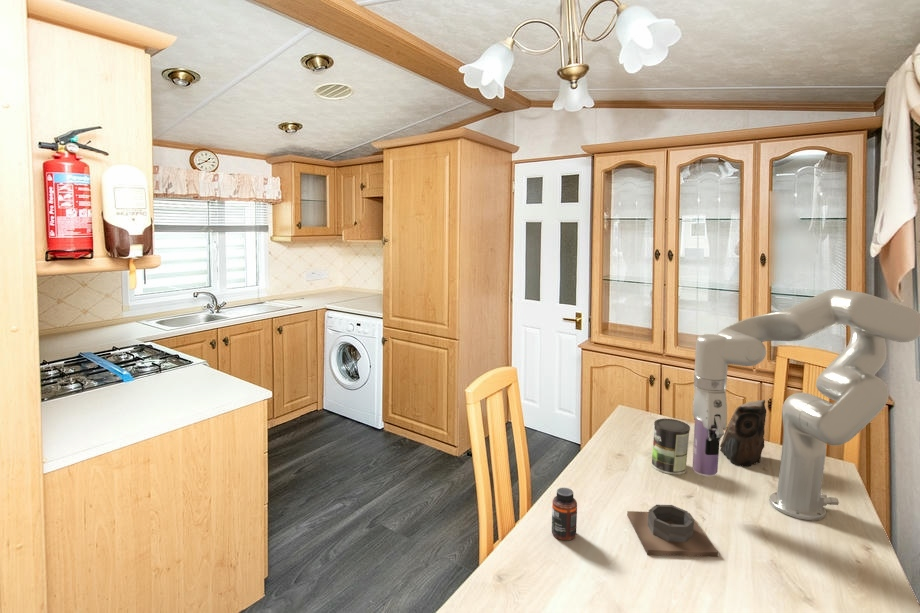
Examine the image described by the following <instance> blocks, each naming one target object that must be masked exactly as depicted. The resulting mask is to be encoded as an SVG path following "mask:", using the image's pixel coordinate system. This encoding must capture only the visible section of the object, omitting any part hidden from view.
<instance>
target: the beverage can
mask: <svg viewBox="0 0 920 613" xmlns="http://www.w3.org/2000/svg"><path fill="white" fill-rule="evenodd" d="M694 419H695V418H694ZM693 427H694V431H693V432H694V434H693V449H692V452H693V453H692V469H693V471H694V472H695V473H696V474H697V475H700V476H703V477H714V476H715V475H717V473H718V469H719V455H720V454H718V455H706V454H705V446H706V439H708V438H707V429H706V428H705V427H704V426H703V423H702V420H700V419H699V418H698V417H697V415H696V419H695V420H694V426H693ZM711 428H715V426H711ZM715 432H716V431H711V435H712V434H713V433H715Z"/></svg>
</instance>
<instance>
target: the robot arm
mask: <svg viewBox="0 0 920 613" xmlns="http://www.w3.org/2000/svg"><path fill="white" fill-rule="evenodd" d="M837 325H843V326H844V325H845V326H847V327H848V326H849V328H850V330H849V331H850V338H849V342H848V344H847V346H846V347H844V348H845V349H843V350H842V351H841V353H839V355H838V356H836V358H835V359H834V360H833V361H832V362H831V363H830V364H829V365H827V367H825V369H823V371H822V372H821V373H819V375H818V377H817V379H816V381H815V386H816V389H817V391H818V392H819V393H820V394H821V395H823V396H824V397H826V398H828V399H831V401H834V403H831V402H830V401H827V399H826V400H825V399H823V398H821V397H819V396H816V395H813V394H811V393H808V392H807V393H806V392H796V393H793V394H791V395H789V396H788V397H787V398H786V399H785V401H784V402H783V403H782V411H781V417H782V418H781V419H782V426H783V434H782V448H781V456H780V457H781V458H780V465H779V474H778V483H777V489H776V490H777V491H776V492H773V493H771V494H770V496H769V503H770V505H772V507H773V508H775V510H777V511H779V512H781V513H783V514H785V515H788V516H790V517H793V518H796V519H800V520H806V521H819V520H822V519H823V518H825V517H826V508H825V507H826V506H827V505H829V506H838V505H839V504H840V502H839V499H838V498H837V497H836V496H835V497H834V496H833V497H832V496H830V497H828V496H827V493H824V492H823V493H822V487H823V486H822V484H823V478H824V477H823V476H824V469H825V463H826V456H827V445H829V446H841V445H844V444H846V443H849V441H851V440H853V439H854V438H855V437H856V436H857V435H858V434H859V433H860V432H861V431H862V430H863V429H864V428H865V427H866V426H867V425H868V424H870V422H871V421H873V420H874V419H875V418H876V416H878V415H879V414H880V413H881V411H882V410H883V409H884V408H885V406H886V405H887V403H888V400H889V394H890V390H889V388H888V385H887V383H886V382H885V381H884V380H883V379H882V378H880V377H878V376H876V374H877V372H879V371H880V369H881V368H882V367H883V366H884V364H885V362H886V360H887V356H888V355H887V353H888V352H887V344H886V340H889V341H891V342H892V341H893V342H896V343H909V342H913V341H915V340H917V339H918V338H919V337H920V312H919V311H917V310H916V309H914V308H913V307H909V306H905V305H903V304H899V303H898V302H897V303H896V302H894V301H890V300H887V299H884V298H882V297H879V296H877V295H876V296H875V295H872V294H870V293H865V292H861V291H854V290H848V289H847V290H846V289H839V288H834V289H833V288H832V289H829V290H827V291H823V292H822V293H819V294H817V295H815V296H812V297H810V298H808V299H806V300H803V301H802V302H800V303H797V304H795V305H793V306H790V307H788V308H785V309H783V310H780V311H774V312H769V313H766V314H765V313H764V314H761V315H756V316H752V317H748V318H745V319H743V320H739V321H737V322H736V323H733V324H730V325H729V326H726V327H725V328H723V329H722V330H720V331H719V332H717V334H711V333H710V334H708V333H706V334H700V335H698V336H697V338H696V340H695V354H694V356H695V357H694V371H693V372H694V374H693V375H694V376H693V377H694V378H693V388H694V393H693V398H692V399H693V402H692V415H693V418H694V421H695V419H696V415H697V417H698V418H699V419H700V420H702V423H703V426H704V427H705V428H706V429H707V438H708V439H706V446H705V454H706V455H718V454H719V453H720V441H722V440H721V439H722V438H723V437H724V434H725V431H726V429H727V426H728V402H727V393H726V391H727V380H728V365H735V366H740V367H752V366H756V365H758V364H760V363H762V362H763V361H764V359H766V356H767V348H766V346H765V345H764V343H765V342H775V341H776V342H777V341H778V342H796V341H797V342H798V341H803V340H806V339H809V338H810V337H812V336H815V335H817V334H819V333H821V332H824V331H826V330H828V329H830V328H834V327H835V326H837ZM763 342H764V343H763ZM711 426H715V428H711ZM711 431H716V432H715V433H713V434H712V435H711ZM719 455H720V454H719ZM719 455H718V456H719Z"/></svg>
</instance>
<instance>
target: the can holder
mask: <svg viewBox="0 0 920 613" xmlns="http://www.w3.org/2000/svg"><path fill="white" fill-rule="evenodd" d="M626 514H627V515H626V516H627V518H628V520H629V522H630V524H631V526H632V528H633V529H634V531H635V532H634V533H636V535H637V538H638V539H639V542H640V544H641V545H642V547H643V550H644V551H645V554H646V555H647V556H648V555H649V556H670V557H671V556H674V557H675V556H676V557H703V558H704V557H707V558H708V557H709V558H718V557H719V551H718V550H717V548H716V547H715V546H714V544H713V543H712V542H711V540H710V539H709V537H708V536H707V535H706V533H705V532H704V530H703V529H702V528H701V526H700V525H699V524H698V522H697V521H696V520H695V518H694V517H693V515H692V514H691V513H690V512H688V511H687V510H685V509H683V508H680V507H678V506H675V505H673V504H655V505H654V506H652V507H651V508H650V509H649V510H648V511H634V510H632V511H631V510H627V513H626Z"/></svg>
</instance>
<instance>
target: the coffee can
mask: <svg viewBox="0 0 920 613" xmlns="http://www.w3.org/2000/svg"><path fill="white" fill-rule="evenodd" d="M653 424H654V428H653V440H652V441H653V442H652V454H651V455H652V456H651V463H650V464H651V467H652V468H653V469H655V470H656V471H658V472H660V473H663V474H668V475H673V476H674V475H677V476H678V475H682V474H685V473H686V471H687V461H688V460H687V459H688V451H689V439H690V430H691V426H690V425H689V424H688V423H686V422H684V421H682V420H679V419H674V418H673V419H672V418H659V419H656V420H654V423H653Z"/></svg>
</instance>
